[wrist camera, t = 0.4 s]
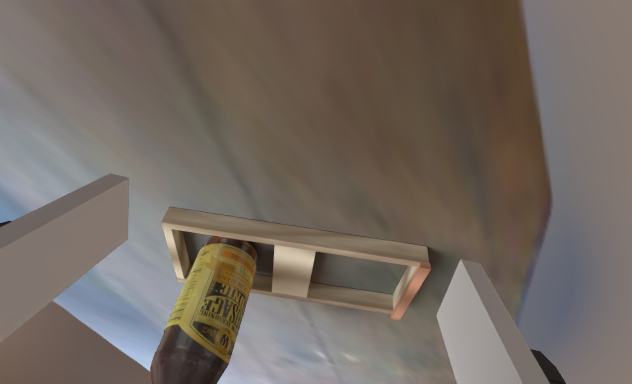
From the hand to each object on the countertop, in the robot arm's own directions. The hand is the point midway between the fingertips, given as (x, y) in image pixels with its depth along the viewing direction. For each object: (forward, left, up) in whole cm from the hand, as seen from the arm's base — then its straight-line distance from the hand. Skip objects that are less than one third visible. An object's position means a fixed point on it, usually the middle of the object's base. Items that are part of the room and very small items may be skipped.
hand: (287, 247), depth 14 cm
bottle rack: (+22, 0, -14) cm, 26 cm away
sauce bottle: (+22, -7, -15) cm, 27 cm away
